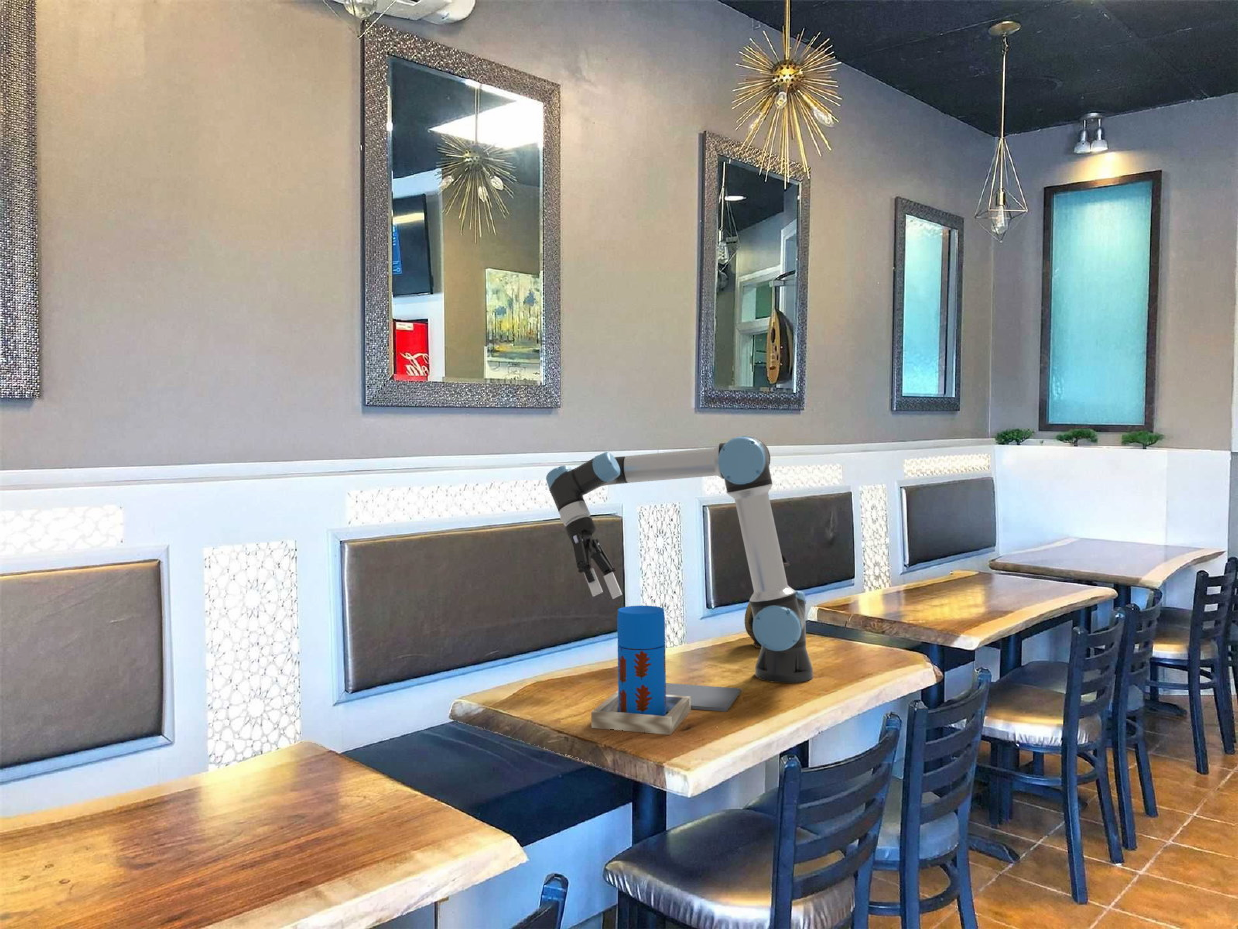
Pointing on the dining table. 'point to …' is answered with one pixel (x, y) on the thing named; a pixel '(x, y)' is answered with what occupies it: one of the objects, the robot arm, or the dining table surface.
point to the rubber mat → (705, 696)
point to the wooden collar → (641, 716)
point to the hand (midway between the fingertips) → (608, 595)
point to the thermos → (641, 660)
